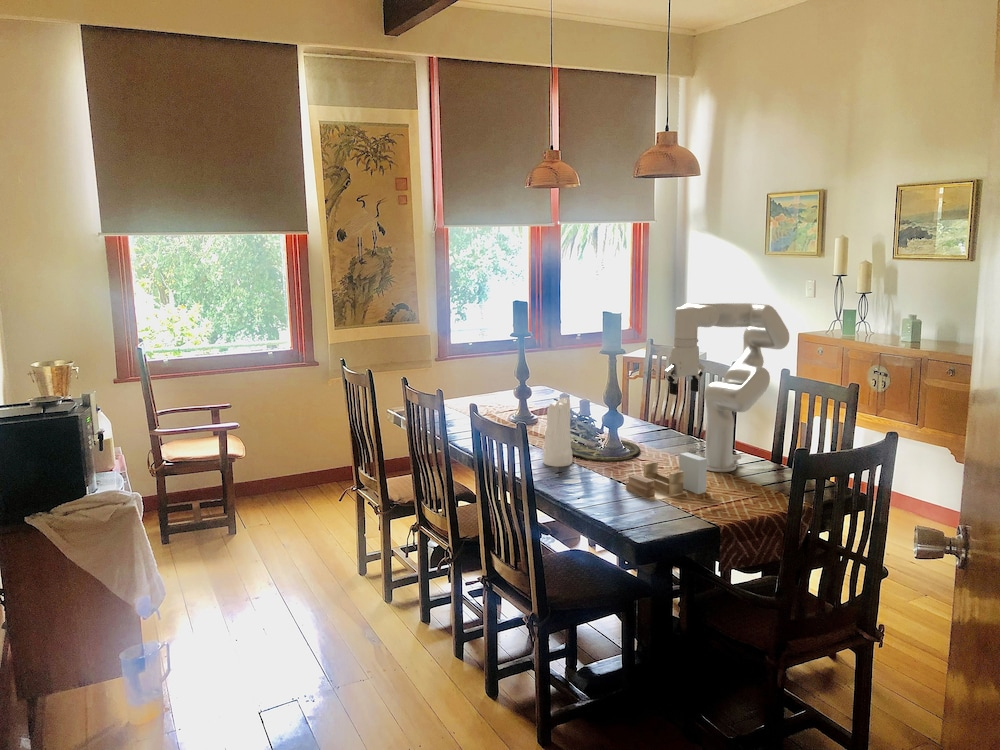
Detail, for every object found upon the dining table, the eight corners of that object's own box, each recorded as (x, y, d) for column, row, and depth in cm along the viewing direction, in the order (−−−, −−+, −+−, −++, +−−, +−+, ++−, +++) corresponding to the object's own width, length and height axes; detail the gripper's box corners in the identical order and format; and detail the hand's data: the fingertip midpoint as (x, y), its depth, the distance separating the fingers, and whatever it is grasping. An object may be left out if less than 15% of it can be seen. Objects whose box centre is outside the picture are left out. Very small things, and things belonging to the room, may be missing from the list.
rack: (654, 483, 266) (655, 460, 265) (687, 496, 253) (688, 472, 251) (620, 490, 259) (620, 466, 257) (652, 504, 245) (653, 479, 244)
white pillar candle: (541, 465, 287) (541, 399, 283) (544, 457, 298) (544, 393, 293) (571, 467, 286) (571, 400, 281) (573, 459, 296) (573, 394, 292)
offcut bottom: (634, 487, 258) (634, 480, 257) (654, 496, 249) (654, 488, 249) (625, 489, 256) (626, 482, 256) (646, 498, 248) (646, 490, 247)
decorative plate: (553, 440, 317) (621, 435, 325) (553, 445, 317) (621, 439, 325) (580, 461, 289) (654, 454, 297) (580, 466, 289) (654, 459, 297)
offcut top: (636, 481, 256) (636, 474, 256) (654, 488, 250) (654, 480, 249) (628, 483, 254) (628, 476, 254) (646, 490, 248) (646, 482, 247)
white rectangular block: (686, 487, 261) (687, 452, 259) (705, 494, 253) (707, 458, 251) (678, 488, 259) (679, 453, 257) (697, 496, 251) (699, 460, 249)
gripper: (696, 340, 271) (694, 388, 274) (658, 343, 263) (657, 393, 266) (712, 342, 265) (710, 391, 268) (674, 346, 256) (672, 397, 259)
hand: (683, 392), depth 267 cm, fingers open, 9 cm apart
